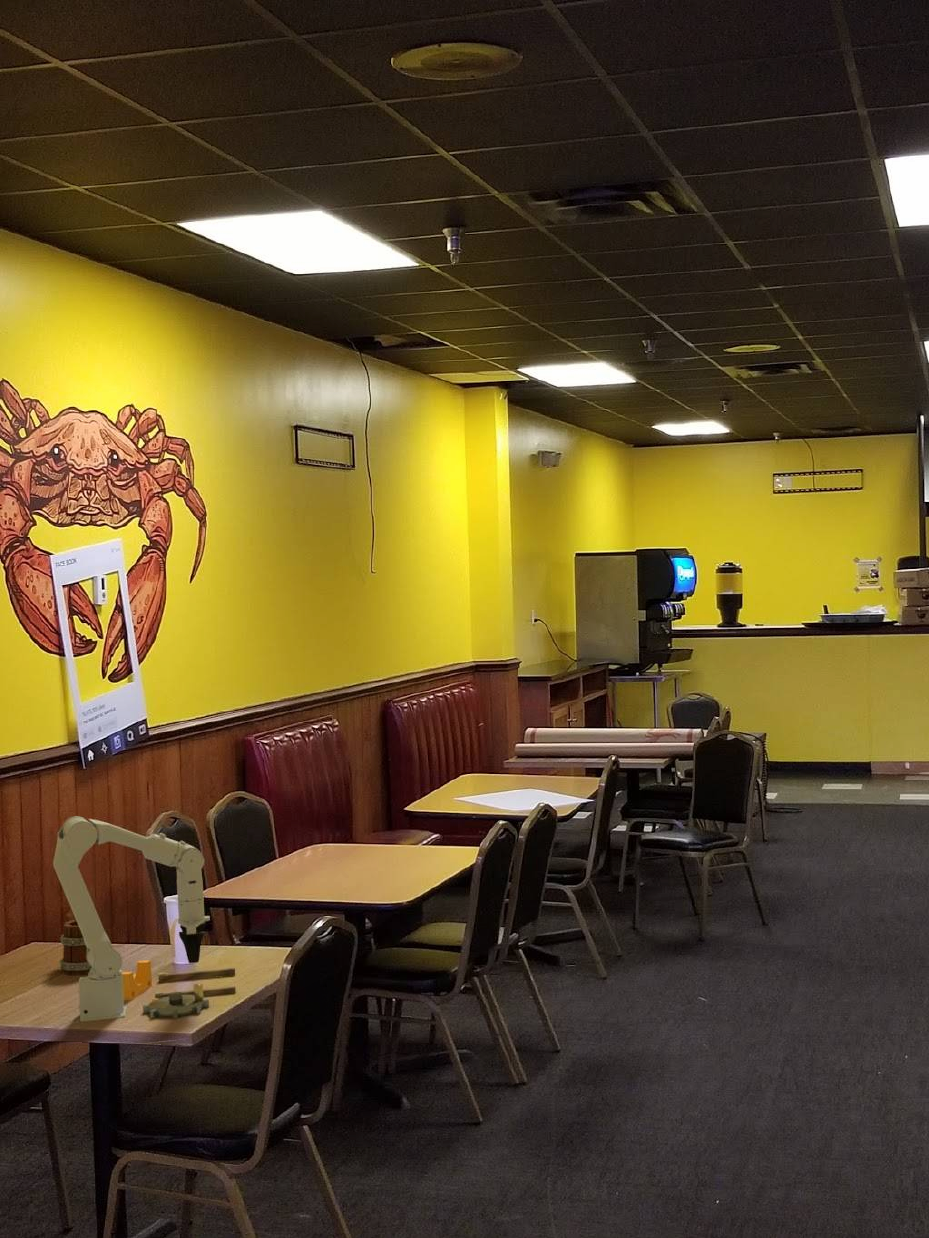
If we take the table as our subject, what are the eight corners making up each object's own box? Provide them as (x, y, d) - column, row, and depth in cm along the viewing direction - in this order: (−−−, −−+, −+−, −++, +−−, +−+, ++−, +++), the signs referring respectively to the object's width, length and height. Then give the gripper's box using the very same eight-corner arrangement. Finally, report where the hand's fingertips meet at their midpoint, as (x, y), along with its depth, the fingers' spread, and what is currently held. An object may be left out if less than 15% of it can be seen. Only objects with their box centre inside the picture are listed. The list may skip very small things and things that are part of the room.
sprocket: (141, 1021, 309) (140, 998, 309) (145, 1003, 323) (144, 981, 323) (208, 1015, 312) (207, 992, 312) (209, 997, 326) (208, 975, 326)
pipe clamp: (134, 987, 340) (133, 960, 340) (152, 987, 339) (150, 960, 339) (113, 1002, 328) (111, 974, 328) (131, 1002, 327) (129, 974, 327)
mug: (71, 978, 350) (63, 916, 351) (50, 977, 361) (43, 917, 363) (116, 968, 357) (109, 907, 359) (94, 968, 368) (87, 909, 370)
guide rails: (155, 1001, 326) (154, 993, 326) (159, 981, 344) (158, 973, 344) (235, 994, 329) (235, 985, 328) (235, 973, 346) (234, 965, 346)
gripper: (208, 903, 318) (211, 965, 319) (208, 891, 333) (212, 949, 333) (175, 906, 317) (179, 968, 317) (177, 893, 331) (181, 952, 332)
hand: (194, 958), depth 325 cm, fingers open, 6 cm apart
